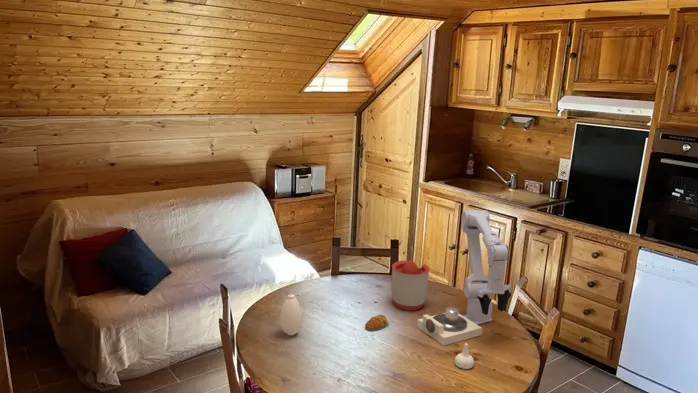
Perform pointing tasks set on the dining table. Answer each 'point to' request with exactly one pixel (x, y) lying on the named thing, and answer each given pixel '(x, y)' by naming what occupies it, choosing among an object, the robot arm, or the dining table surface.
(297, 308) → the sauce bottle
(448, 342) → the base
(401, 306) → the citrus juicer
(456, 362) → the garlic bulb
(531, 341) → the dining table surface
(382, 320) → the pastry
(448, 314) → the cylinder
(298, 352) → the dining table surface
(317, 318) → the dining table surface
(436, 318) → the pan
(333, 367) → the dining table surface
